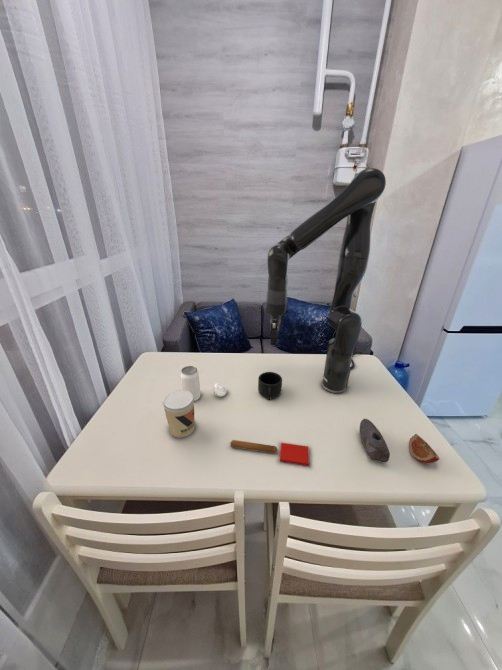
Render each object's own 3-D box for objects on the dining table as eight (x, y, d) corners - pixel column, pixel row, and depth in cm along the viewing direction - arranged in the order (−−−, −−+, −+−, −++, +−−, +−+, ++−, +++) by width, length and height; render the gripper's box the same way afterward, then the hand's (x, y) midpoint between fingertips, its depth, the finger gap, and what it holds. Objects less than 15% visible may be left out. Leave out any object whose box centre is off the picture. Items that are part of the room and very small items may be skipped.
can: (196, 403, 96) (194, 376, 91) (180, 400, 98) (176, 373, 92) (203, 392, 102) (200, 366, 97) (187, 390, 103) (184, 364, 98)
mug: (258, 385, 107) (259, 370, 104) (281, 387, 106) (282, 372, 103) (256, 405, 96) (256, 389, 93) (281, 407, 95) (282, 391, 92)
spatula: (228, 453, 77) (228, 448, 76) (232, 437, 82) (232, 433, 81) (308, 466, 73) (309, 461, 72) (307, 448, 79) (308, 443, 78)
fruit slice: (401, 445, 80) (406, 433, 78) (423, 444, 80) (428, 432, 78) (418, 469, 73) (423, 457, 70) (442, 469, 73) (448, 456, 71)
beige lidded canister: (182, 444, 79) (178, 413, 74) (161, 431, 84) (155, 402, 79) (203, 425, 87) (200, 396, 81) (182, 414, 91) (178, 386, 86)
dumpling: (213, 390, 104) (214, 381, 103) (226, 392, 105) (227, 383, 104) (211, 398, 97) (213, 389, 96) (225, 400, 98) (227, 391, 97)
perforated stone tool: (353, 427, 87) (357, 410, 84) (369, 428, 86) (374, 411, 83) (368, 467, 73) (374, 449, 70) (388, 468, 73) (394, 450, 70)
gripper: (285, 307, 90) (282, 350, 97) (287, 295, 103) (284, 334, 110) (264, 306, 91) (262, 348, 98) (268, 294, 104) (266, 333, 111)
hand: (274, 341), depth 104 cm, fingers open, 6 cm apart
